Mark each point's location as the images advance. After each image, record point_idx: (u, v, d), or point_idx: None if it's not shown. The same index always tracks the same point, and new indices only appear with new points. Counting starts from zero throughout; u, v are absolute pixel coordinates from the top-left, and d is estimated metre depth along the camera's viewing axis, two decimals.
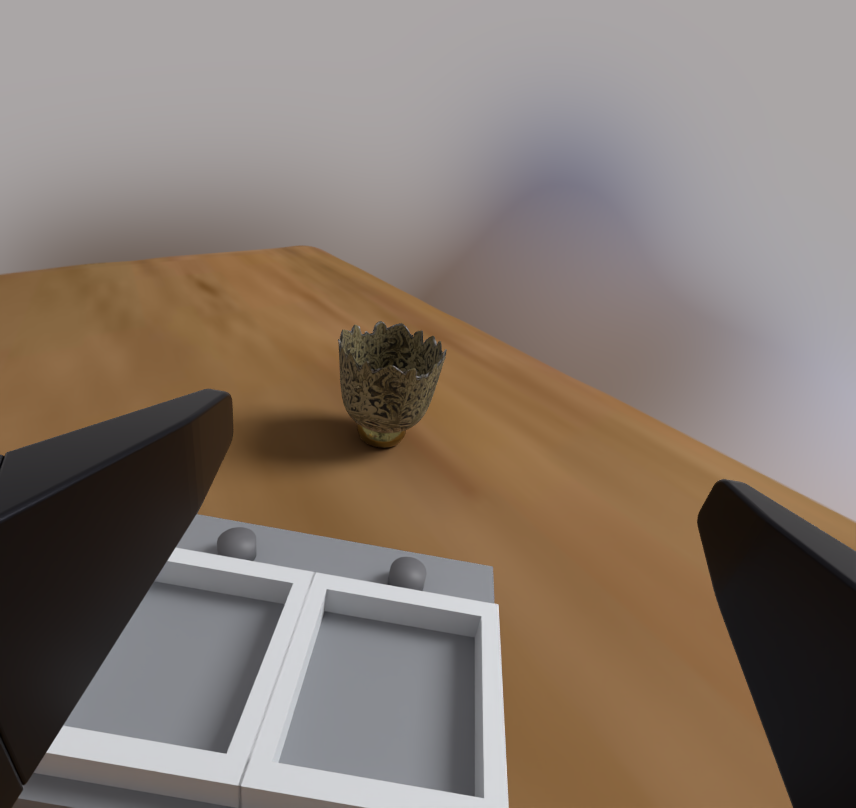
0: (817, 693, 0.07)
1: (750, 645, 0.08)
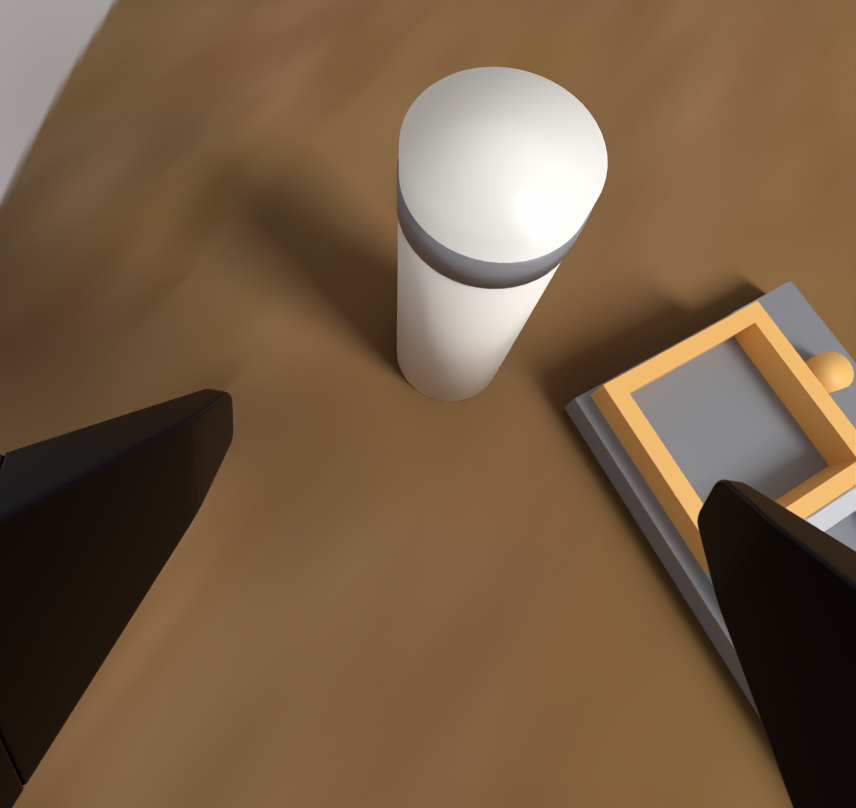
0: (817, 693, 0.07)
1: (750, 645, 0.08)
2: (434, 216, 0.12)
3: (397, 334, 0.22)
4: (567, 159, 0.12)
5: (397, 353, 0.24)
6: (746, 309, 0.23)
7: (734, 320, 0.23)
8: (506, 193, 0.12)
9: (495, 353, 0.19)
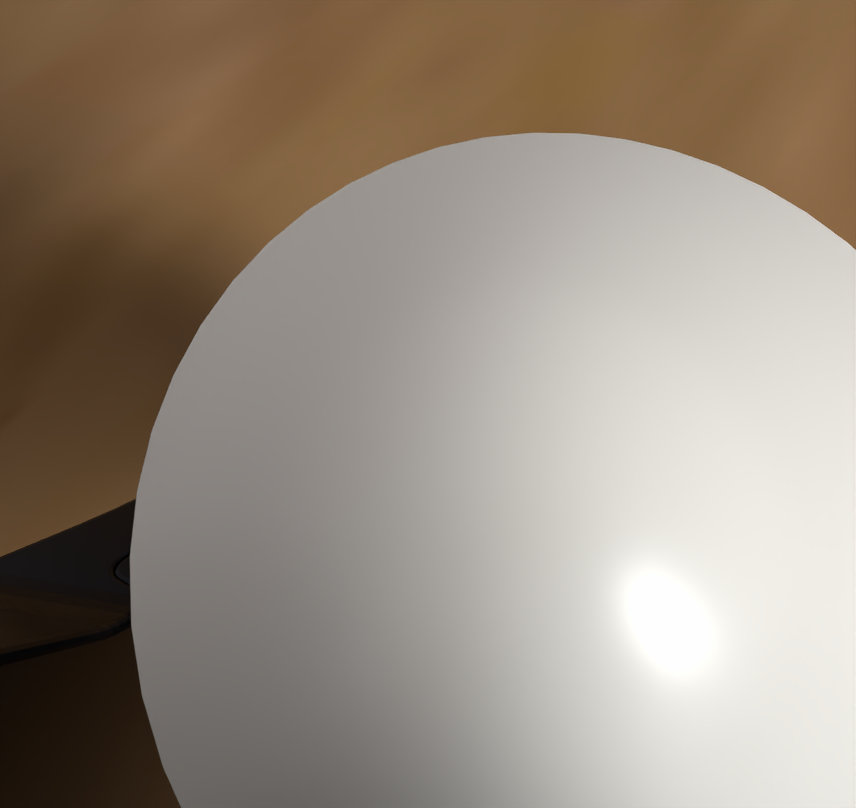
0: None
1: None
2: None
3: None
4: None
5: None
6: None
7: None
8: (624, 770, 0.02)
9: None
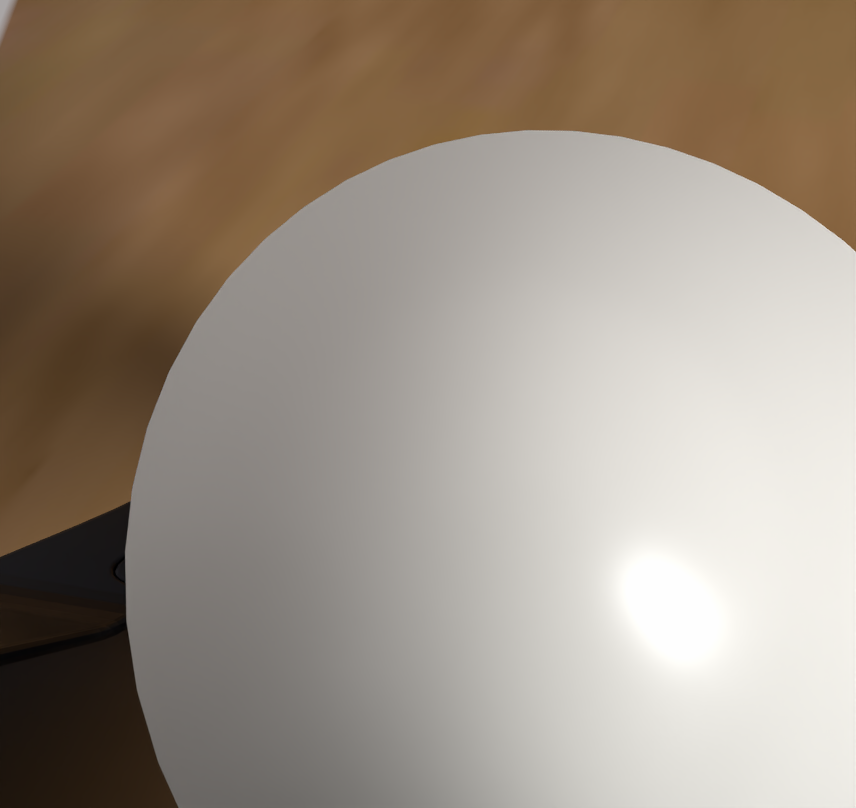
0: None
1: None
2: None
3: None
4: None
5: None
6: None
7: None
8: (619, 764, 0.02)
9: None
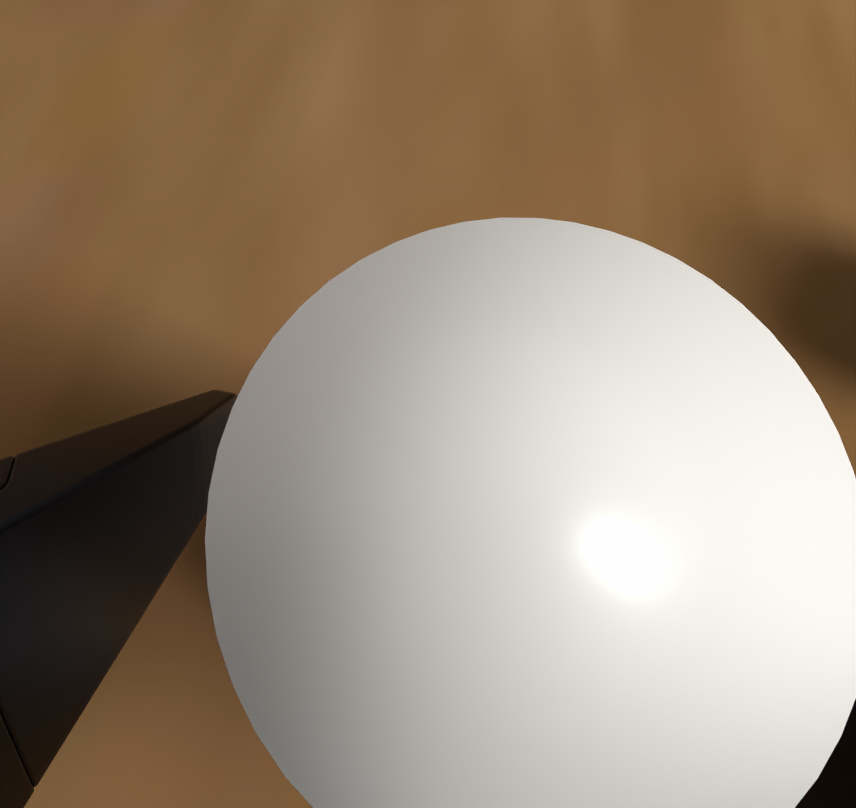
0: None
1: None
2: (308, 790, 0.03)
3: None
4: (747, 533, 0.04)
5: None
6: None
7: None
8: (558, 689, 0.03)
9: None
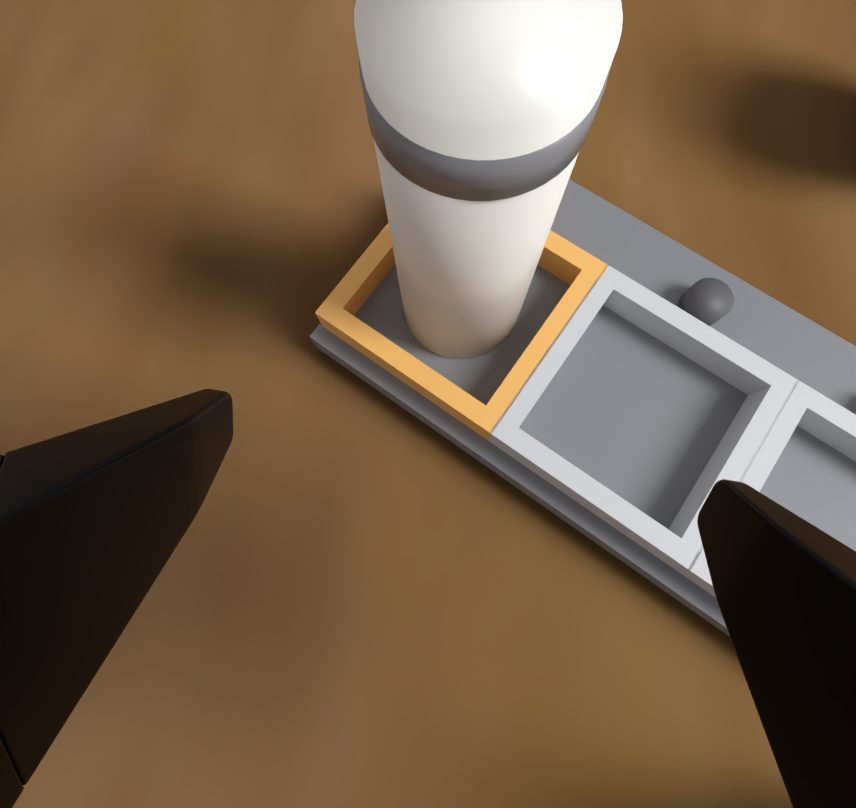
0: (817, 693, 0.07)
1: (750, 645, 0.08)
2: (404, 106, 0.09)
3: (400, 288, 0.19)
4: (570, 13, 0.09)
5: (404, 311, 0.21)
6: None
7: None
8: (494, 66, 0.09)
9: (509, 293, 0.16)
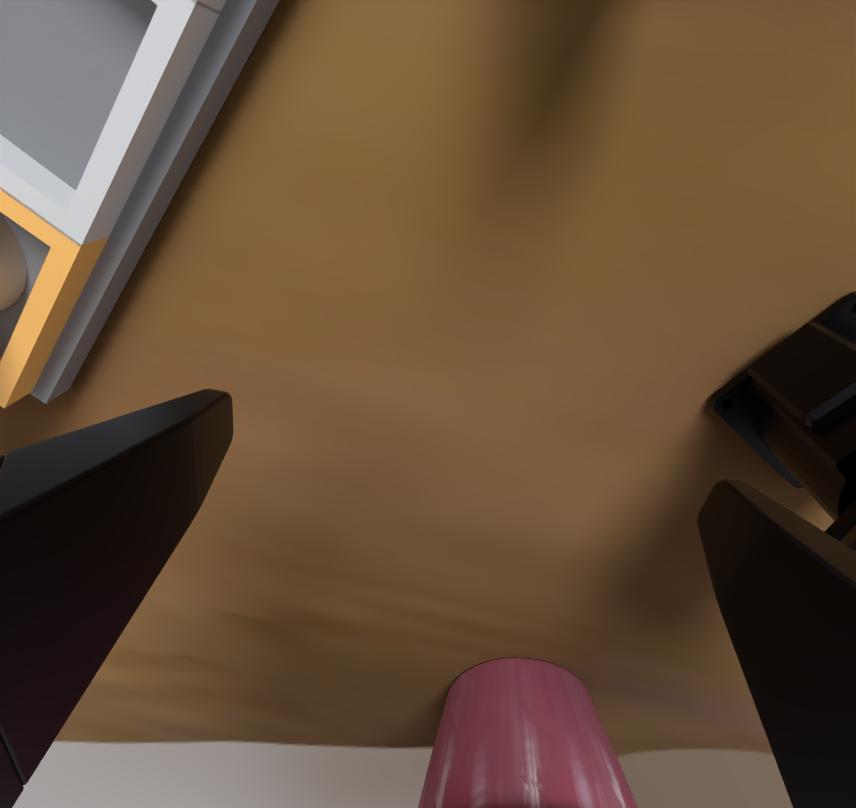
0: (817, 693, 0.07)
1: (750, 645, 0.08)
2: None
3: None
4: None
5: None
6: None
7: None
8: None
9: None
